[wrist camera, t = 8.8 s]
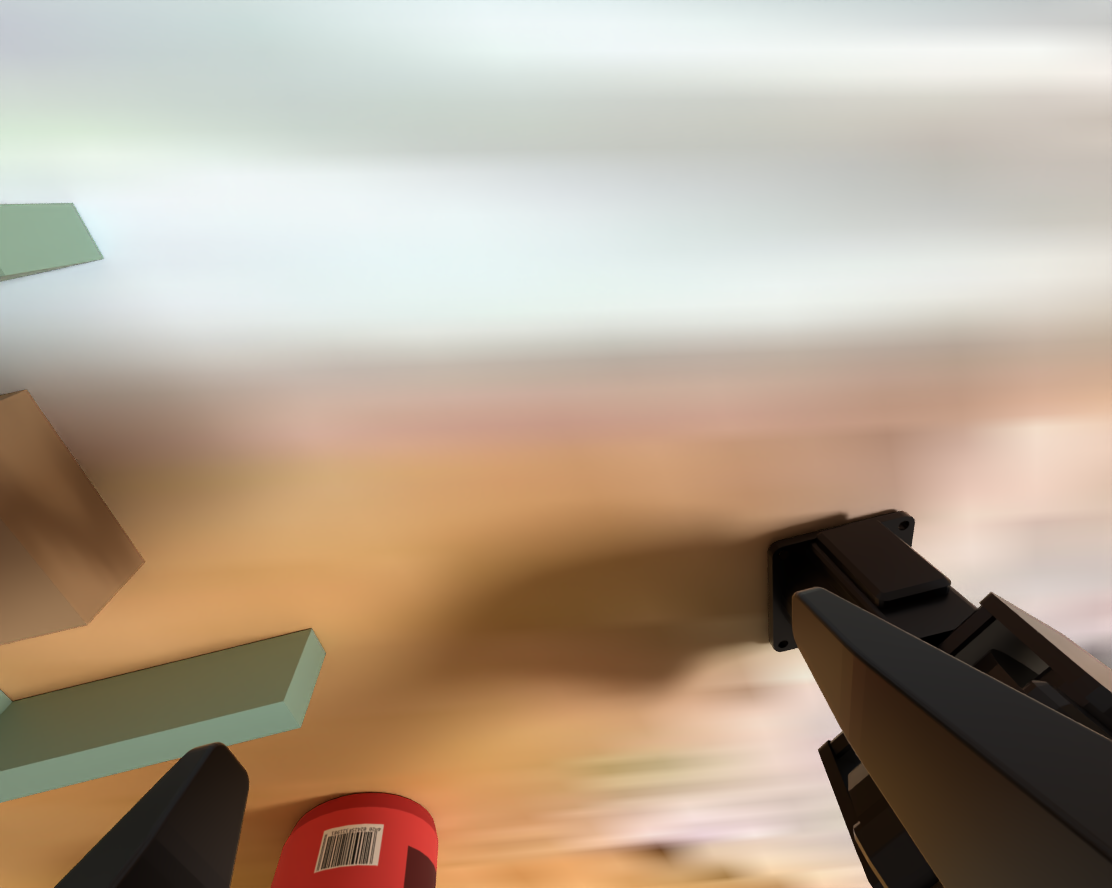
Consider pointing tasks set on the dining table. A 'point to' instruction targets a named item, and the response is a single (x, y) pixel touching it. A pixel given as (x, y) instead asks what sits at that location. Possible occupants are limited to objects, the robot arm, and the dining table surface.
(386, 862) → the canned food
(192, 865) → the robot arm
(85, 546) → the tan wooden block
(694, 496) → the dining table surface
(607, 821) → the dining table surface
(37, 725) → the box
